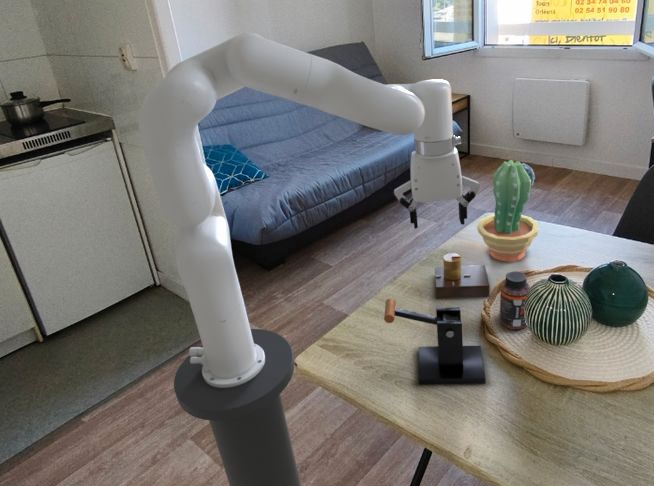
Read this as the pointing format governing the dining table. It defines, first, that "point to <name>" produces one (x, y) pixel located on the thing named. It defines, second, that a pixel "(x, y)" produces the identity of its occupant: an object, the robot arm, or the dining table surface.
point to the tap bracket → (450, 355)
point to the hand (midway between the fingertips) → (438, 223)
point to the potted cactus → (509, 213)
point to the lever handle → (412, 315)
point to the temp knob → (452, 266)
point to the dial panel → (463, 283)
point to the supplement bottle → (513, 300)
